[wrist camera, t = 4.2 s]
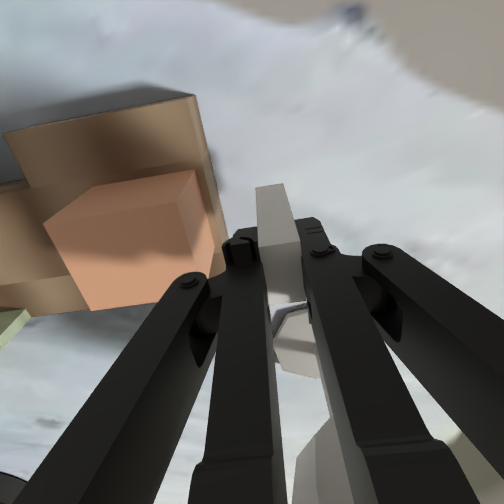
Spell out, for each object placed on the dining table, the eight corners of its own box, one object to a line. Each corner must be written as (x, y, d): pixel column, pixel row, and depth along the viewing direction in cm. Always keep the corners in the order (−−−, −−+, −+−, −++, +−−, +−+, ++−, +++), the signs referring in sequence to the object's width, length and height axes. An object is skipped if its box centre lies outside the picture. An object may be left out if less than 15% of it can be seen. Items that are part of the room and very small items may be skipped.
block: (124, 259, 20) (91, 311, 16) (92, 186, 18) (42, 223, 14) (214, 246, 20) (205, 295, 16) (194, 169, 17) (176, 201, 13)
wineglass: (358, 371, 30) (518, 817, 12) (269, 371, 30) (297, 819, 12) (378, 301, 26) (673, 831, 8) (273, 300, 26) (329, 835, 8)
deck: (-37, 305, 26) (-108, 363, 21) (-154, 161, 20) (-294, 193, 15) (234, 265, 24) (230, 318, 19) (195, 94, 18) (173, 104, 13)
